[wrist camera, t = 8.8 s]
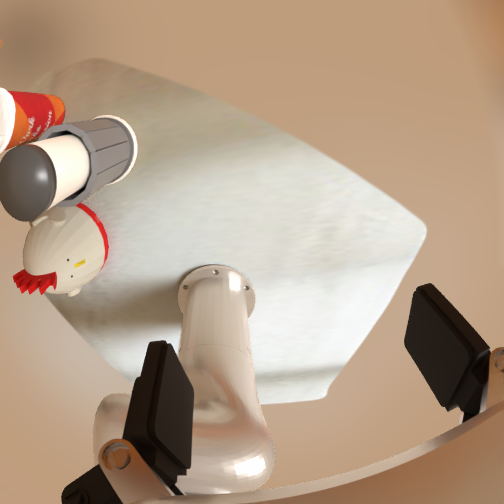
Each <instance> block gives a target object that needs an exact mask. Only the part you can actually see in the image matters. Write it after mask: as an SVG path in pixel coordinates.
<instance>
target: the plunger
mask: <svg viewBox="0 0 504 504" xmlns="http://www.w3.org/2000/svg"><path fill="white" fill-rule="evenodd" d="M91 173H92V170H91V153H90V152H89V150H88V148H87V146H86V145H85V143H84V141H83V139H82V138H81V137H79V136H78V135H76V134H74V133H72V134H68V135H63V136H58V137H54V138H49V139H45V140H41V141H37V142H33V143H29V144H26V145H22V146H19V147H15V148H13V149H11V150H9V151H8V152H7V153H6V154H5V155H4V157H3V158H2V160H1V162H0V201H1V203H2V205H3V207H4V208H5V210H6V211H7V212H8V213H9V214H10V215H11V216H12V217H14V218H15V219H17V220H19V221H31V220H33V219H35V218H37V217H38V216H40V215H41V214H42V213H44V212H45V211H47V210H48V209H50V208H51V207H53V206H54V205H56V204H57V203H59V202H60V201H62V200H64V199H65V198H67V197H68V196H70V195H71V194H73V193H75V192H76V191H78V190H79V189H81V188H83V187H84V186H86V185H87V183H88V181H89V178H90V176H91Z"/></svg>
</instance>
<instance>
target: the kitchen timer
mask: <svg viewBox="0 0 504 504" xmlns="http://www.w3.org/2000/svg"><path fill="white" fill-rule="evenodd" d="M108 248H109V246H108V240H107V234H106V232H105V229H104V227H103V224H102V223H101V221H100V220H99V219H98V217H97V216H96V214H95V213H94V212H93V211H91V210H90V209H89V208H88V207H87V206H86V205H83V204H81V203H79V204H77V205H76V206H73V207H56V206H55V205H54V206H53V207H51V208H50V209H48V210H47V211H45V212H44V213H42V214H41V215H40V216H38V217H37V218H36V219H35V220H34V221H33V222H32V227H31V229H30V231H29V232H28V234H27V237H26V241H25V245H24V249H23V264H24V268H25V269H24V270H22V271H20V272H18V273H17V274H15V275H14V276H13V279H14V282H16V285H17V288H20V290H21V293H24V292H25V291H26V290H27V289H28V291H29V294H31V293H32V292H34V291H35V290H36V289H37V288H38V289H39V290H40V293H41V295H42V294H43V293H44V292H47V293H51V294H62V293H66V294H67V296H69V297H71V296H74V295H76V294H78V293H79V292H80V291H81V288H80V287H81V286H83V285H85V284H87V283H88V282H90V281H91V280H92V279H93V278H94V277H95V276H96V275H97V274H98V273H99V272H100V270H101V269H102V267H103V266H104V264H105V261H106V259H107V255H108Z"/></svg>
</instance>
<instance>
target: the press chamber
mask: <svg viewBox="0 0 504 504" xmlns="http://www.w3.org/2000/svg"><path fill="white" fill-rule="evenodd" d="M72 133H74V134H76V135H78V136H79V137H81V138H82V139H83V141H84V143H85V145H86V146H87V148H88V150H89V152H90V153H91V170H92V173H91V176H90V178H89V181H88V183H87V185H86V186H84V187H83V188H81V189H79V190H78V191H76V192H75V193H73V194H71V195H70V196H68V197H67V198H65V199H64V200H62V201H60V202H59V203H57V204H56V205H55V206H56V207H73V206H76V205H77V204H79V203H80V202H82V201H83V200H84V199H86V198H87V197H89V196H90V195H92V194H93V193H95V192H96V191H97V190H99V189H100V188H102V187H103V186H105V185H110V184H114V183H116V182H118V181H120V180H121V179H123V178H124V177H125V176H126V175H127V174H128V173H129V172H130V171H131V169H132V168H133V166H134V164H135V162H136V159H137V154H138V142H137V137H136V134H135V132H134V130H133V129H132V127H131V126H130V125H129V124H128V123H127V122H126V121H125V120H123V119H122V118H120V117H117V116H113V115H103V116H98V117H95V118H93V119H91V120H90V121H82V122H73V123H66V124H61V125H56V126H51V127H50V128H49V129H48V130H47V131H46V132H45V133H44V134H43V135H42V136H41V137H40V138H39V139H38V141H41V140H45V139H49V138H54V137H58V136H63V135H68V134H72ZM36 142H37V141H36Z"/></svg>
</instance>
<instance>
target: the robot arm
mask: <svg viewBox="0 0 504 504" xmlns="http://www.w3.org/2000/svg"><path fill="white" fill-rule="evenodd" d="M215 270H217V271H215ZM177 300H178V306H179V309H180V311H181V312H182V314H183V316H184V317H183V323H182V329H181V336H180V342H179V348H178V355H176V353H175V351H174V349H173V346H172V345H171V344H170V343H169V344H167V342H166V341H165V340H162V341H153V342H150V343H149V345H148V348H147V352H146V356H145V360H144V364H143V368H142V372H141V376H140V377H137V378H136V380H135V383H134V387H133V391H132V394H127V393H114V394H110V395H108V396H107V397H105V398H104V399H103V400H102V401H101V403H100V405H99V407H98V409H97V412H96V415H95V422H94V428H93V452H94V463H95V467H93V468H92V469H91V470H89V471H88V472H86V473H85V474H83V475H82V476H81V477H79V478H78V479H76V480H75V481H73V482H72V483H70V484H69V485H67V486H66V487H65V488H64V490H63V492H62V496H61V498H62V504H504V347H499V348H496V349H495V350H493V351H492V353H491V352H490V350H489V349H490V347H489V346H488V345H487V344H486V342H485V341H484V340H483V339H482V338H481V336H480V335H479V334H478V333H477V332H476V331H475V329H474V328H473V327H472V326H471V325H470V324H469V323H468V322H467V321H466V319H465V318H464V317H463V316H462V315H461V314H460V313H459V312H458V310H456V308H455V307H454V306H453V305H452V304H451V303H450V302H449V301H448V300H447V299H446V298H445V297H444V296H443V295H442V294H441V292H440V291H439V290H438V289H437V288H436V287H435V286H434V285H432V284H431V283H428V284H425V285H422V286H419V287H417V288H416V291H415V292H414V294H413V298H412V304H411V309H410V315H409V320H408V325H407V330H406V334H405V339H404V344H405V347H406V349H407V351H408V352H409V354H410V355H411V357H412V359H413V360H414V362H415V363H416V365H417V367H418V368H419V370H420V371H421V373H422V375H423V376H424V378H425V380H426V381H427V383H428V385H429V386H430V388H431V390H432V391H433V393H434V395H435V396H436V398H437V400H438V402H439V403H440V405H441V406H442V407H445V408H446V410H447V411H450V410H452V409H454V408H456V407H458V406H459V408H460V410H461V413H460V418H459V422H458V426H457V427H455V428H453V429H451V430H449V431H447V432H445V433H444V434H442V435H440V436H438V437H436V438H434V439H432V440H430V441H427V442H425V443H423V444H421V445H419V446H416V447H414V448H412V449H410V450H407V451H405V452H402V453H400V454H398V455H395V456H392V457H390V458H387V459H385V460H382V461H379V462H376V463H374V464H371V465H368V466H365V467H362V468H358V469H355V470H352V471H349V472H345V473H342V474H339V475H335V476H331V477H327V478H323V479H319V480H314V481H310V482H305V483H300V484H295V485H290V486H284V487H278V488H272V489H265V490H256V491H253V490H255V489H257V488H259V487H260V486H262V485H263V484H264V483H265V482H266V481H267V480H268V479H269V477H270V476H271V474H272V471H273V468H274V463H275V452H274V446H273V441H272V438H271V435H270V432H269V429H268V426H267V424H266V422H265V419H264V416H263V413H262V410H261V407H260V403H259V399H258V394H257V389H256V382H255V375H254V367H253V359H252V350H251V341H250V333H249V324H248V318H249V317H250V315H251V314H252V312H253V310H254V307H255V292H254V289H253V286H252V284H251V282H250V281H249V280H248V278H247V277H246V276H244V275H243V274H242V273H241V272H239V271H237V270H235V269H233V268H231V267H227V266H222V265H209V266H204V267H201V268H198V269H196V270H194V271H192V272H191V273H190V274H188V275H187V276H186V277H185V278H184V280H183V281H182V283H181V285H180V287H179V291H178V297H177Z"/></svg>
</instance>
